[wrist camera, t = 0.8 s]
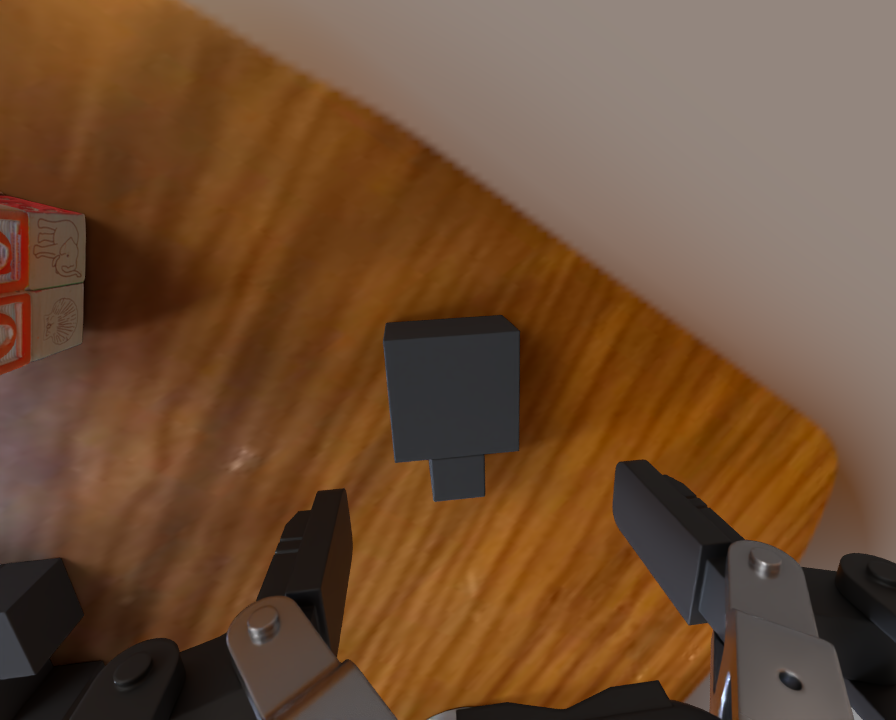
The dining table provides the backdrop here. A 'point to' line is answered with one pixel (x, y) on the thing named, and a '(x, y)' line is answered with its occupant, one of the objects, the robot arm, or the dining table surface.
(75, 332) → the stack of blocks
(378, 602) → the dining table surface
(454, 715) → the coffee mug
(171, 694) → the robot arm
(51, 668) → the notch pad
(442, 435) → the pad
